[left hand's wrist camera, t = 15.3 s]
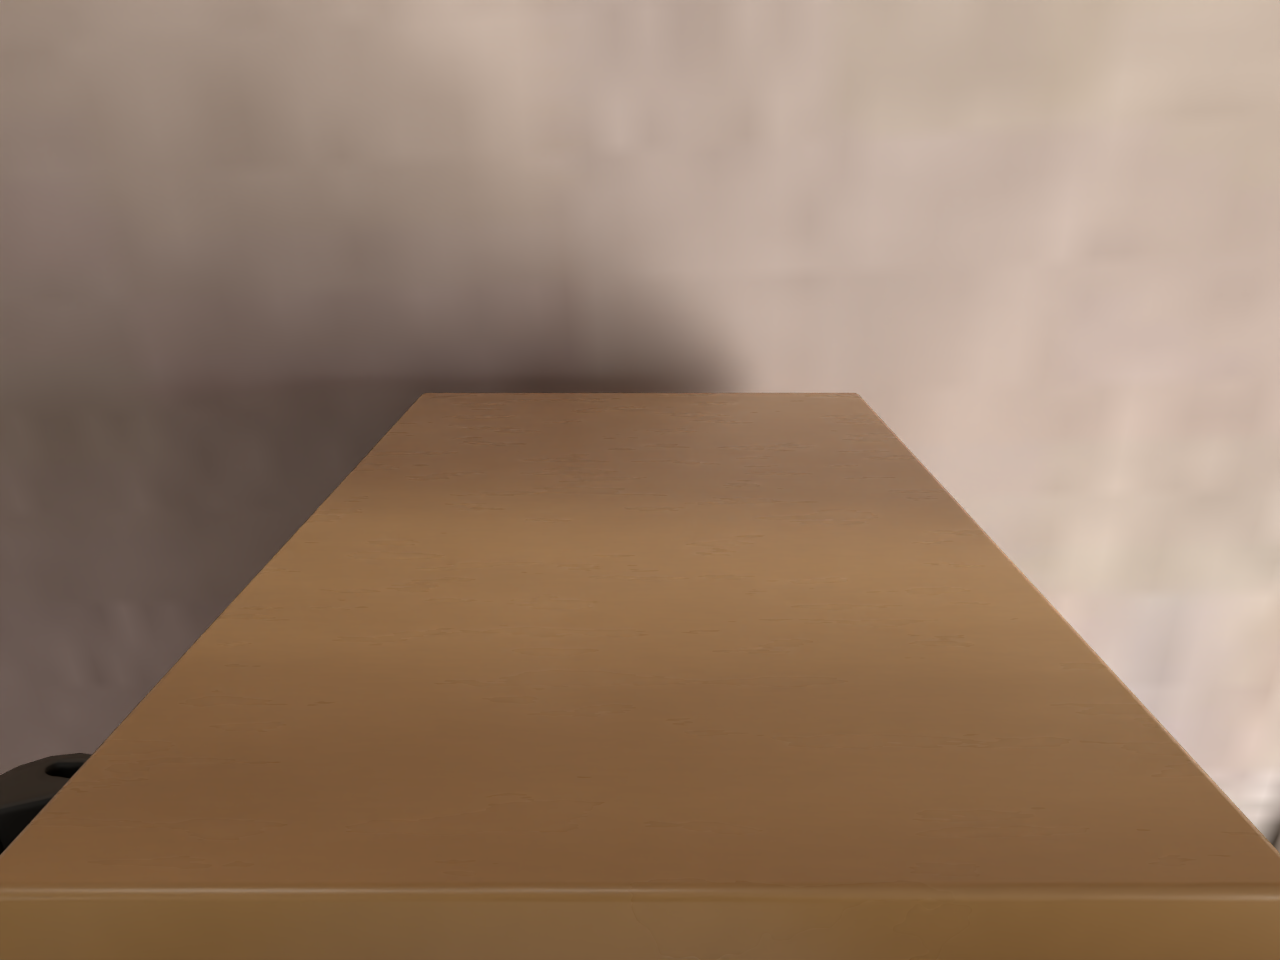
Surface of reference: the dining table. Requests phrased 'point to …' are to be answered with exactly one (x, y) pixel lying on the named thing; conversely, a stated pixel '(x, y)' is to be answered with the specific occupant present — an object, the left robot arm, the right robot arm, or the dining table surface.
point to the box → (640, 724)
